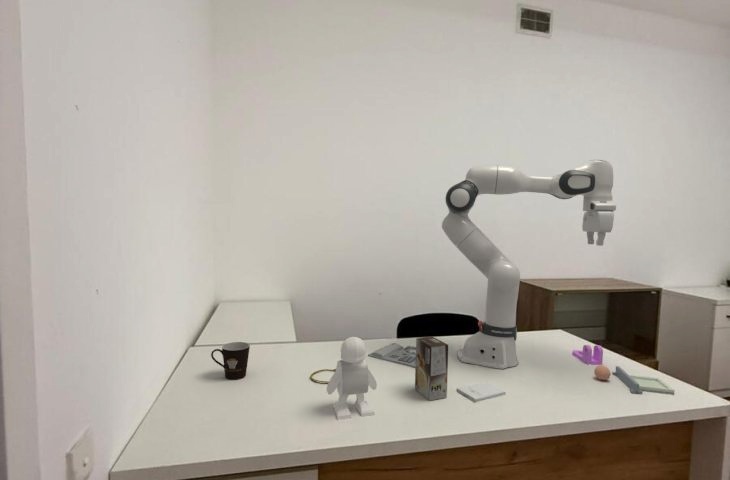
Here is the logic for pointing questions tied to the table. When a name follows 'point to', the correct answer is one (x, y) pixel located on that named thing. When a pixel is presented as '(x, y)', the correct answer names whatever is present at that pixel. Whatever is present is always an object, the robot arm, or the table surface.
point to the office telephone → (396, 354)
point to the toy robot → (352, 378)
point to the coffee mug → (234, 359)
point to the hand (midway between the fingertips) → (595, 244)
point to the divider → (627, 380)
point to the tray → (652, 384)
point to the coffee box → (431, 368)
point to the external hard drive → (481, 391)
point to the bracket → (590, 355)
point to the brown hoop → (318, 380)
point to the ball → (602, 372)
